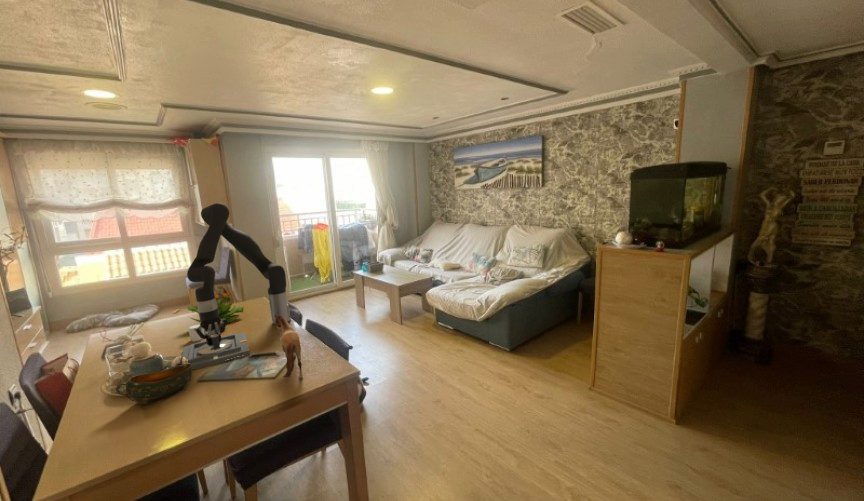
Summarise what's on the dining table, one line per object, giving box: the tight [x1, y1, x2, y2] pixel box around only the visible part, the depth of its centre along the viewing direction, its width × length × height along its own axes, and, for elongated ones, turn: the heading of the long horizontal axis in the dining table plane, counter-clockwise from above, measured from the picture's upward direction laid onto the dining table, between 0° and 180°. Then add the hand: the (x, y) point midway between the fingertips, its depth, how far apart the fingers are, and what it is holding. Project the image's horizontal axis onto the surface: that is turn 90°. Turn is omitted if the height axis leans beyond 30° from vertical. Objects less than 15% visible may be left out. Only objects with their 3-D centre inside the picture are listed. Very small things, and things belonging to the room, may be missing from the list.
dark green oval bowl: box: [115, 364, 193, 406], centre depth 129 cm, size 13×20×10 cm, turn 109°
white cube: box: [187, 323, 205, 342], centre depth 180 cm, size 7×7×7 cm
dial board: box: [181, 331, 250, 370], centre depth 163 cm, size 26×26×4 cm
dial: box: [197, 329, 233, 355], centre depth 162 cm, size 14×14×7 cm
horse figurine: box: [274, 314, 304, 379], centre depth 140 cm, size 31×8×21 cm, turn 26°
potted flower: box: [186, 292, 245, 327], centre depth 198 cm, size 25×24×18 cm
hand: (214, 343), depth 162 cm, fingers closed on dial, 3 cm apart
